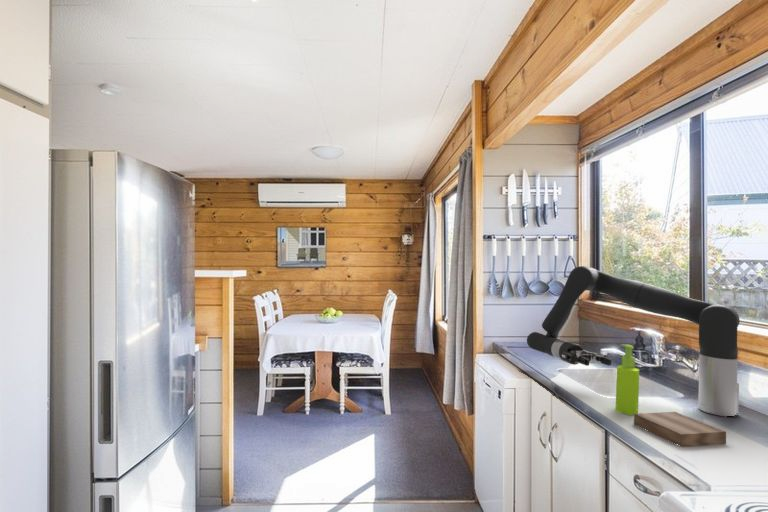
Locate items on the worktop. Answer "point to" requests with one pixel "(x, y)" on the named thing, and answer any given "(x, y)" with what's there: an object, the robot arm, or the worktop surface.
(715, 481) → the worktop surface
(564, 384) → the worktop surface
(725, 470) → the worktop surface
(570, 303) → the robot arm
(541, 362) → the worktop surface
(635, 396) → the soap dispenser
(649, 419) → the wooden cutting board
